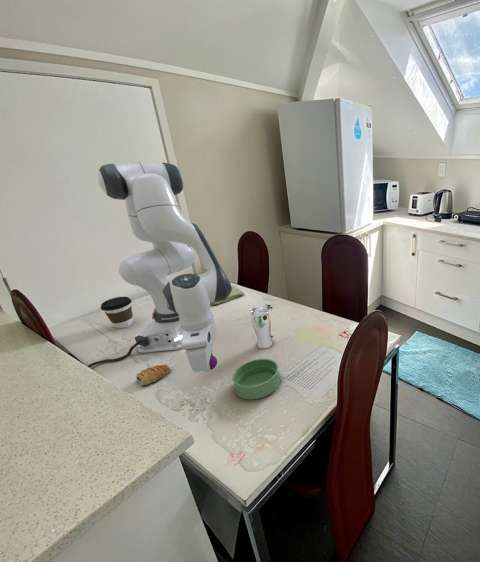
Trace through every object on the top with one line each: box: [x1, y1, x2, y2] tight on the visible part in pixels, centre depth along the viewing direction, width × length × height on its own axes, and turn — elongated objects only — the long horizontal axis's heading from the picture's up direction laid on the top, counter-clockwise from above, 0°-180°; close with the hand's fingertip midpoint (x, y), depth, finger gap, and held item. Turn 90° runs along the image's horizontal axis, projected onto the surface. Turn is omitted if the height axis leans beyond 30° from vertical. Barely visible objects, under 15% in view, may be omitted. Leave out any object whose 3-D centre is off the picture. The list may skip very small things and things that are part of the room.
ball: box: [209, 354, 218, 371], centre depth 98 cm, size 5×5×5 cm
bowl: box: [232, 358, 281, 400], centre depth 104 cm, size 14×14×6 cm
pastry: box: [135, 364, 170, 386], centre depth 108 cm, size 9×7×4 cm
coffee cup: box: [100, 296, 134, 329], centre depth 139 cm, size 11×11×12 cm
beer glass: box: [250, 307, 274, 349], centre depth 124 cm, size 7×7×15 cm
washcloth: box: [210, 285, 245, 306], centre depth 166 cm, size 13×18×3 cm
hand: (208, 364), depth 98 cm, fingers closed on ball, 5 cm apart
